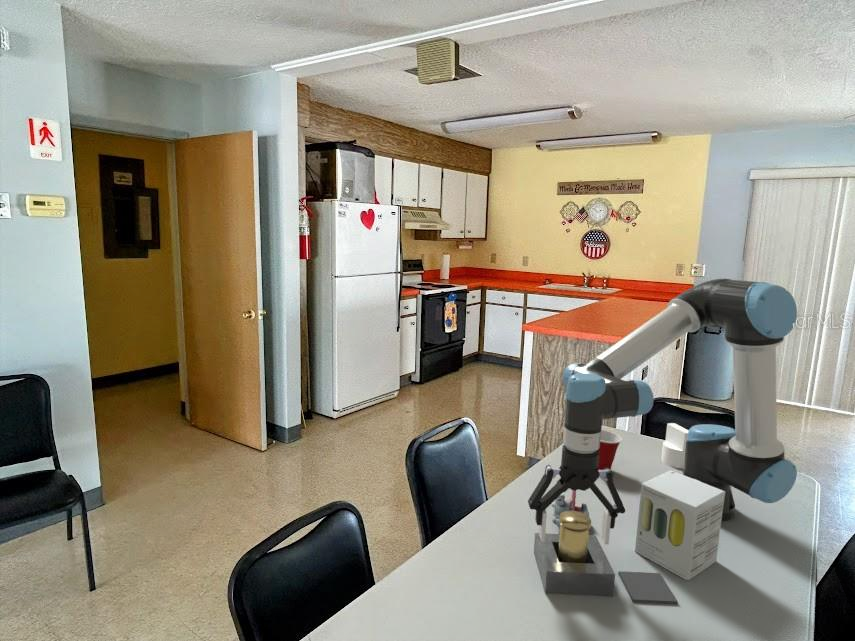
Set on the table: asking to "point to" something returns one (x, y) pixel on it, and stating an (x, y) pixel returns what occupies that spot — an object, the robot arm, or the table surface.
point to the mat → (647, 587)
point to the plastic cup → (607, 449)
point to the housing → (573, 569)
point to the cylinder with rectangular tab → (674, 446)
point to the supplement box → (679, 523)
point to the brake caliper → (567, 507)
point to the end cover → (573, 537)
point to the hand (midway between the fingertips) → (573, 539)
